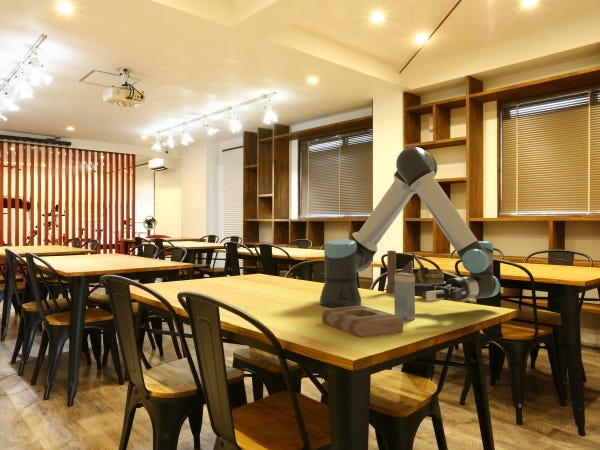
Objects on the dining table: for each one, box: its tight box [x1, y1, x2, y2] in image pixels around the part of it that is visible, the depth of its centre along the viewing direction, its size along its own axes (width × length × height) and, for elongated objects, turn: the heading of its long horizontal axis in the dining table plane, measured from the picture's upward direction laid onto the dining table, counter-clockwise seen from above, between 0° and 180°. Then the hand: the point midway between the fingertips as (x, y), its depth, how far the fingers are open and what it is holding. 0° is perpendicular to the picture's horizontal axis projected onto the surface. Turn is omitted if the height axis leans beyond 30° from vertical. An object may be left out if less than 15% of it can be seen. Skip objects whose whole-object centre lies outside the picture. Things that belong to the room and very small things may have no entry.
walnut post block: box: [321, 304, 404, 338], centre depth 131 cm, size 20×14×4 cm
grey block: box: [394, 272, 416, 322], centre depth 143 cm, size 6×3×14 cm, turn 27°
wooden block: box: [385, 250, 414, 294], centre depth 194 cm, size 4×11×18 cm, turn 66°
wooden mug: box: [411, 252, 446, 300], centre depth 184 cm, size 9×14×18 cm, turn 71°
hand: (411, 293), depth 143 cm, fingers open, 13 cm apart
